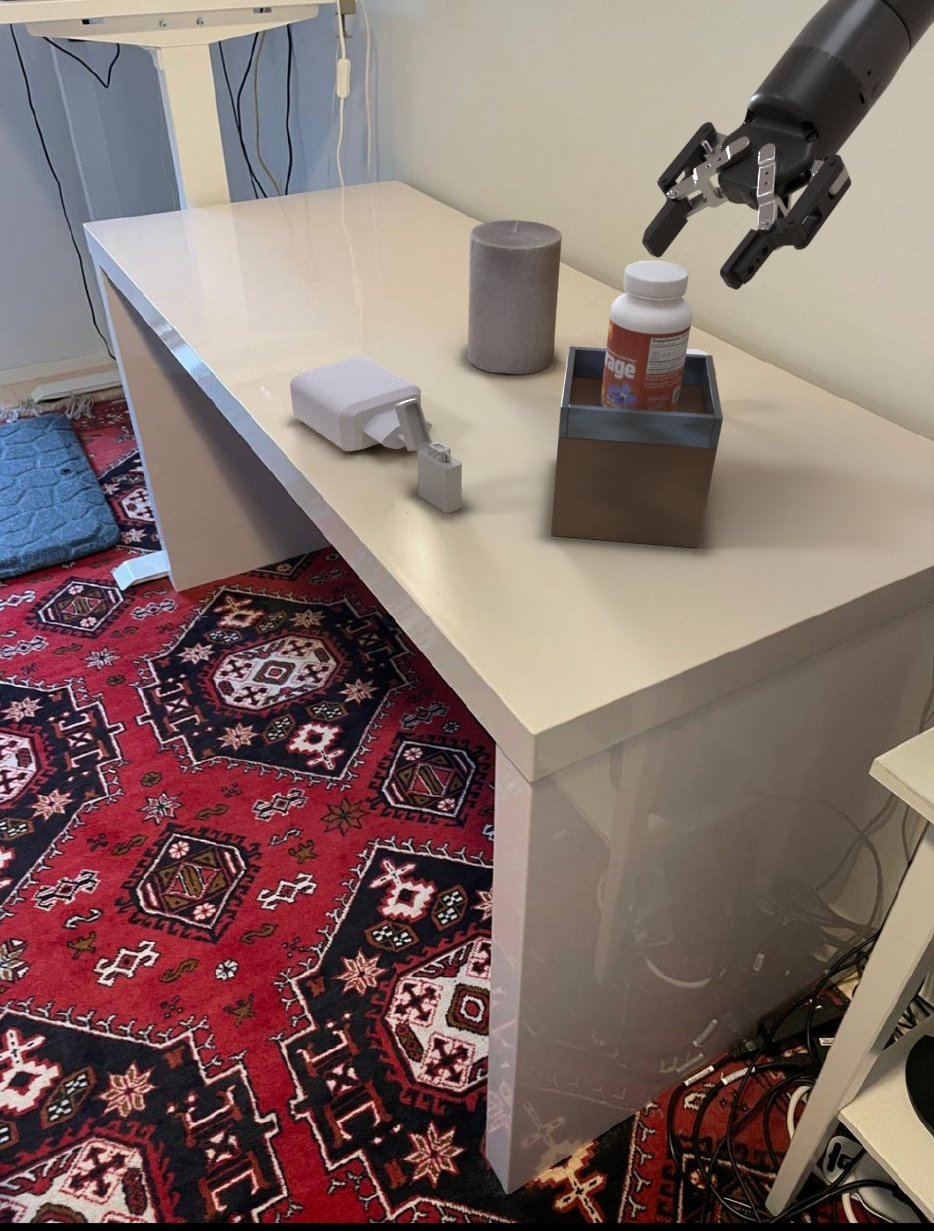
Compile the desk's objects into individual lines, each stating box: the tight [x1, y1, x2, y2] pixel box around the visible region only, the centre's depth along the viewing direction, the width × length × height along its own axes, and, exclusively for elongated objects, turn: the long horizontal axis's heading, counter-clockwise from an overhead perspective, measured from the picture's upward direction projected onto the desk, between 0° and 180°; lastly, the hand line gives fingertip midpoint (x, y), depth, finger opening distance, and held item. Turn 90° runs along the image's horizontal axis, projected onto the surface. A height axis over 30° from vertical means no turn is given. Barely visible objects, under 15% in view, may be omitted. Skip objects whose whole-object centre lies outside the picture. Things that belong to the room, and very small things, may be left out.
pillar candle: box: [467, 219, 563, 375], centre depth 103 cm, size 10×10×15 cm
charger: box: [289, 356, 433, 452], centre depth 91 cm, size 5×9×15 cm
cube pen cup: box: [550, 345, 724, 549], centre depth 79 cm, size 12×12×12 cm
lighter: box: [395, 398, 463, 515], centre depth 81 cm, size 7×2×8 cm, turn 40°
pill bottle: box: [601, 260, 693, 412], centre depth 74 cm, size 6×6×11 cm
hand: (687, 265), depth 72 cm, fingers open, 8 cm apart
